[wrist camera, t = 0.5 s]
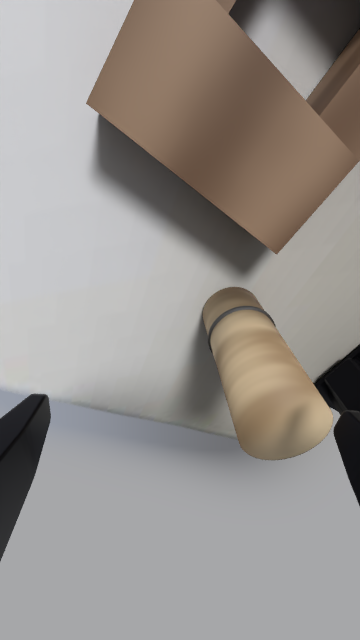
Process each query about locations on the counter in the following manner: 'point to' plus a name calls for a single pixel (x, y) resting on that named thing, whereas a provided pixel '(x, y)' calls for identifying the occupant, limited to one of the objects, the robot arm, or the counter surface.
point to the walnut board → (230, 114)
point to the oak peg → (263, 379)
